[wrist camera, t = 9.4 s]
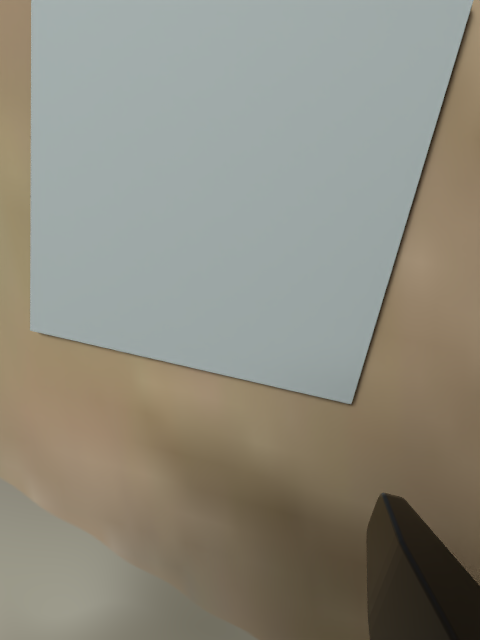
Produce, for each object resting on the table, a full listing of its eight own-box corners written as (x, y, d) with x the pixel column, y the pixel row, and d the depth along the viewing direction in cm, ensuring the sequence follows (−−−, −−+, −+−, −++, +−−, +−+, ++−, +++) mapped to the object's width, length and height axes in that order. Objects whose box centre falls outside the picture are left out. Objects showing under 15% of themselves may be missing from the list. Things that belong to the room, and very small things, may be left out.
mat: (468, 4, 15) (473, -1, 15) (350, 399, 21) (351, 404, 20) (39, -60, 17) (31, -66, 16) (36, 327, 22) (30, 330, 22)
